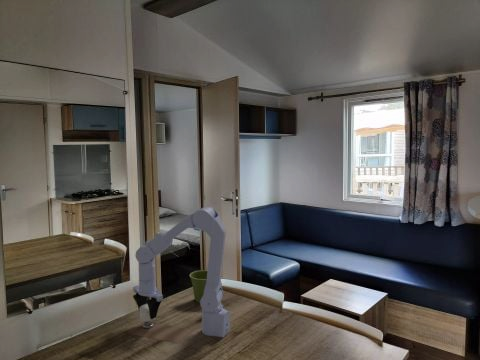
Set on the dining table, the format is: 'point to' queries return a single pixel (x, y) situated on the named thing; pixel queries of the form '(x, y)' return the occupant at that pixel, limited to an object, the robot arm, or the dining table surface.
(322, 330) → the dining table surface
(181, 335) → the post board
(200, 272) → the plant pot
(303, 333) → the dining table surface
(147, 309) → the cap
